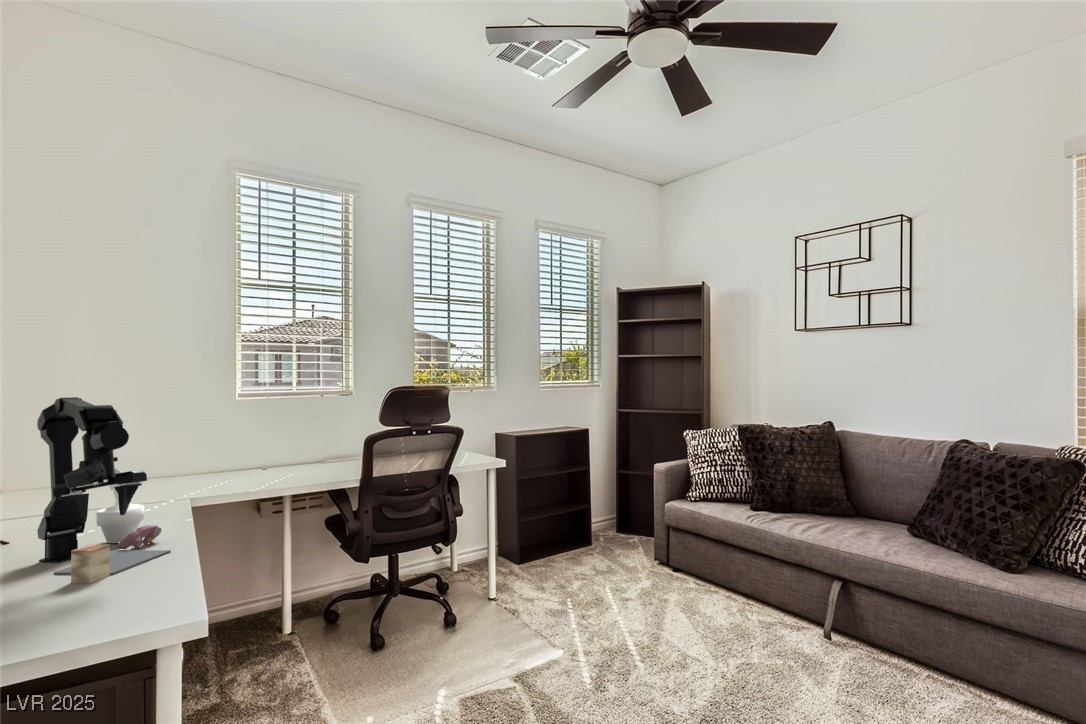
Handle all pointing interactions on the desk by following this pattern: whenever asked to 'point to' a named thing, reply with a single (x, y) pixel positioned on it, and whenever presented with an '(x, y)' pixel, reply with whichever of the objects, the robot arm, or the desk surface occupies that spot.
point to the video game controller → (140, 536)
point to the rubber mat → (126, 559)
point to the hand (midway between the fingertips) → (103, 518)
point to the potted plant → (119, 518)
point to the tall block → (90, 563)
